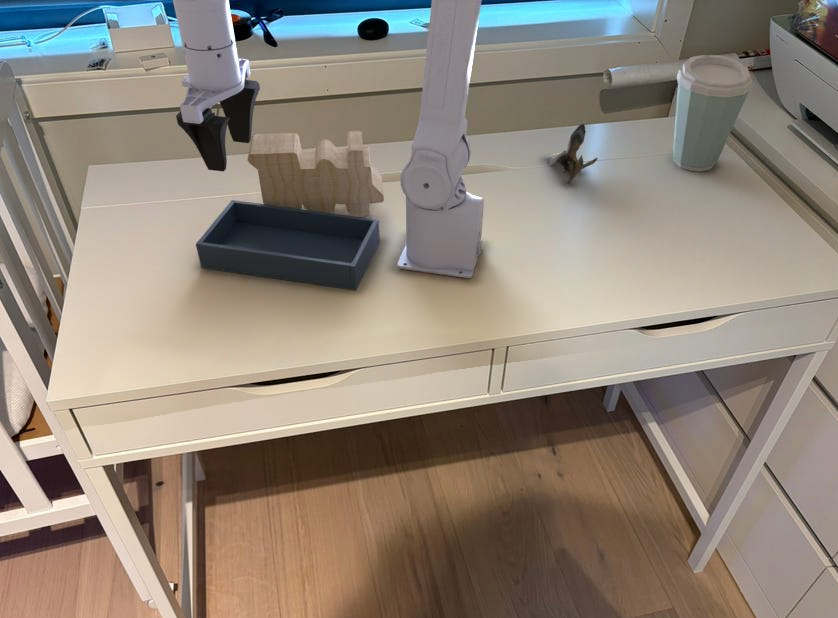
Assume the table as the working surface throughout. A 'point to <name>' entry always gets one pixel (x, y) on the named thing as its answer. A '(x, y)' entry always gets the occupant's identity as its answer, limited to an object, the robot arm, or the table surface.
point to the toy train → (315, 173)
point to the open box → (290, 244)
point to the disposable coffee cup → (707, 108)
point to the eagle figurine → (571, 155)
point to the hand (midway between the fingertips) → (229, 154)
